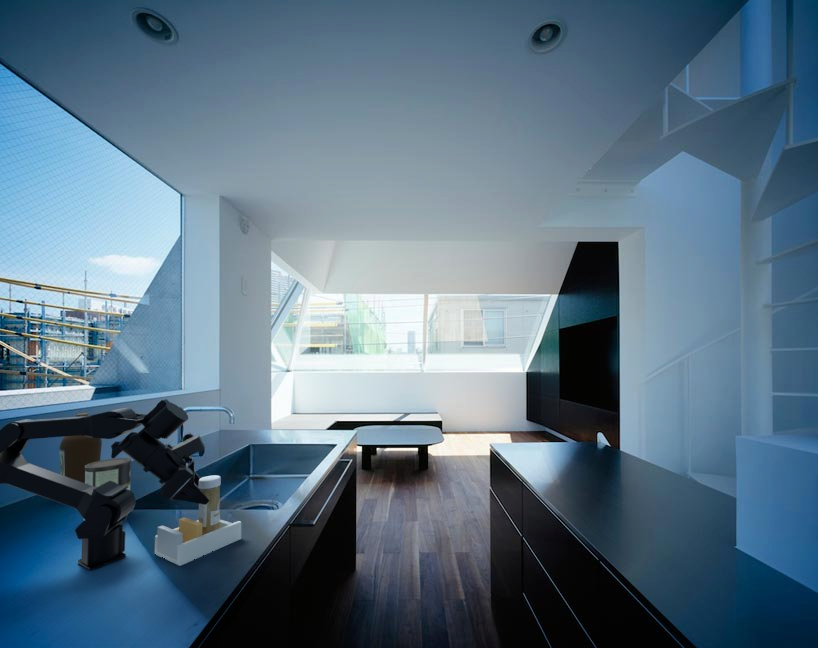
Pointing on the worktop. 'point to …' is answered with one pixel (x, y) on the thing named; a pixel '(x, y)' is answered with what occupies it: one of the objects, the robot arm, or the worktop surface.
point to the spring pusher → (189, 529)
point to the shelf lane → (194, 542)
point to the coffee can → (109, 472)
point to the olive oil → (78, 454)
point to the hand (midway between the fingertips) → (207, 496)
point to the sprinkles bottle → (210, 503)
